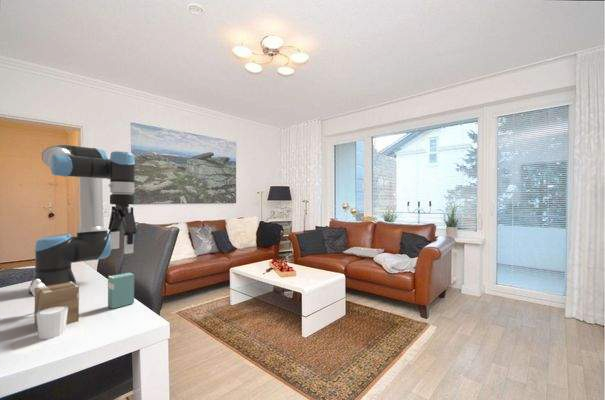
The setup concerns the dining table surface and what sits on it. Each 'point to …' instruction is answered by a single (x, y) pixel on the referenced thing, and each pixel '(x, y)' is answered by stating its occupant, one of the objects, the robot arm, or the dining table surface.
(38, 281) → the figurine
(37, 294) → the cardboard box
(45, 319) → the shot glass
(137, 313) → the dining table surface
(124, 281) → the block
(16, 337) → the dining table surface
